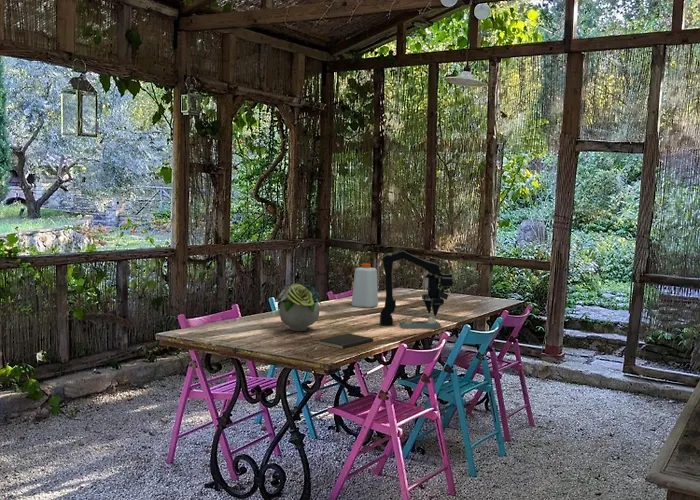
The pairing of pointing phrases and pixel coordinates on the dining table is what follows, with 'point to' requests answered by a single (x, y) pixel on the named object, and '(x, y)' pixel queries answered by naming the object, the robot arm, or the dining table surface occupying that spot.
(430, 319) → the cream egg
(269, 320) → the dining table surface
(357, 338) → the hardcover book
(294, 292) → the flower arrangement
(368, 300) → the plastic bottle
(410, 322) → the brown egg
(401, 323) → the grey long rectangular tray
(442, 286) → the robot arm
